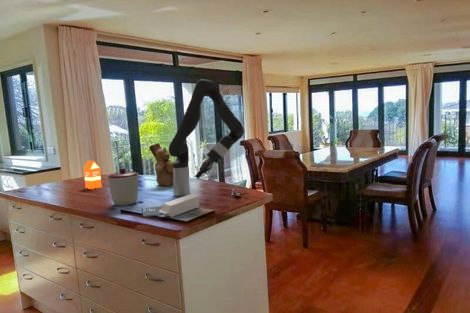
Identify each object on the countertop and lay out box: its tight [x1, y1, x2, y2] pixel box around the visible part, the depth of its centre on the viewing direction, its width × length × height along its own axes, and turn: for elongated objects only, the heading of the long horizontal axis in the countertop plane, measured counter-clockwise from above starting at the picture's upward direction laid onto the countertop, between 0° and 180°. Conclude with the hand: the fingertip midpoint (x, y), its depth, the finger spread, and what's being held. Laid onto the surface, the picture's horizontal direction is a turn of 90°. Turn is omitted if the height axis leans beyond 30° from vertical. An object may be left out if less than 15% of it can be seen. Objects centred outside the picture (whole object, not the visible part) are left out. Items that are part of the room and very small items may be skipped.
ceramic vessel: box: [148, 142, 175, 187], centre depth 255 cm, size 16×22×30 cm
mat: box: [141, 205, 163, 218], centre depth 183 cm, size 23×16×1 cm
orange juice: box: [83, 160, 103, 190], centre depth 259 cm, size 8×9×20 cm
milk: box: [159, 193, 200, 218], centre depth 177 cm, size 6×6×22 cm
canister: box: [105, 167, 140, 207], centre depth 202 cm, size 18×18×21 cm
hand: (196, 177), depth 187 cm, fingers closed
